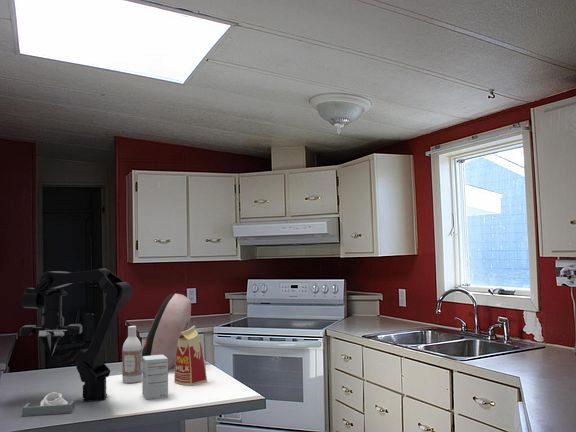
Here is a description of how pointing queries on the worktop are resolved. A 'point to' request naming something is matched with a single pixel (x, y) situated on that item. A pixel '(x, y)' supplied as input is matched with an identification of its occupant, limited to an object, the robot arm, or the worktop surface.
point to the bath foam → (132, 358)
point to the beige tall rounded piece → (168, 328)
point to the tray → (48, 409)
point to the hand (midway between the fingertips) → (50, 356)
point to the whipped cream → (53, 399)
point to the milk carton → (189, 359)
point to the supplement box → (155, 376)
